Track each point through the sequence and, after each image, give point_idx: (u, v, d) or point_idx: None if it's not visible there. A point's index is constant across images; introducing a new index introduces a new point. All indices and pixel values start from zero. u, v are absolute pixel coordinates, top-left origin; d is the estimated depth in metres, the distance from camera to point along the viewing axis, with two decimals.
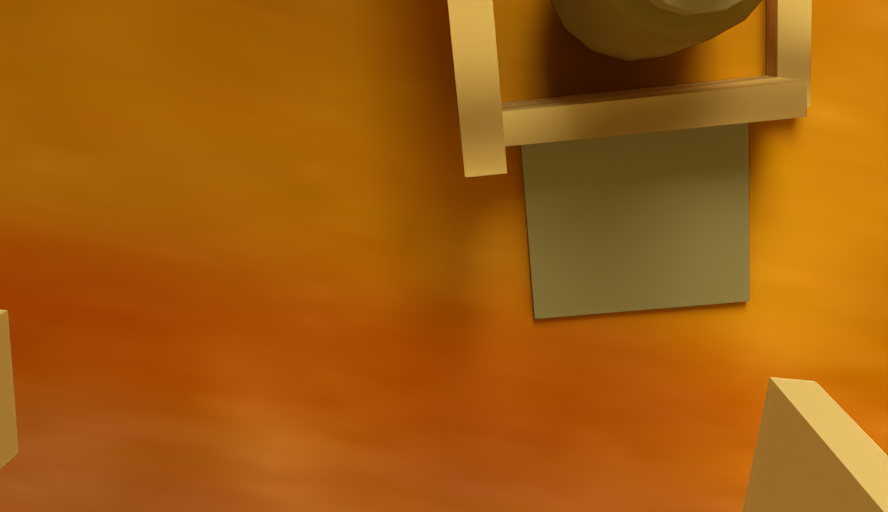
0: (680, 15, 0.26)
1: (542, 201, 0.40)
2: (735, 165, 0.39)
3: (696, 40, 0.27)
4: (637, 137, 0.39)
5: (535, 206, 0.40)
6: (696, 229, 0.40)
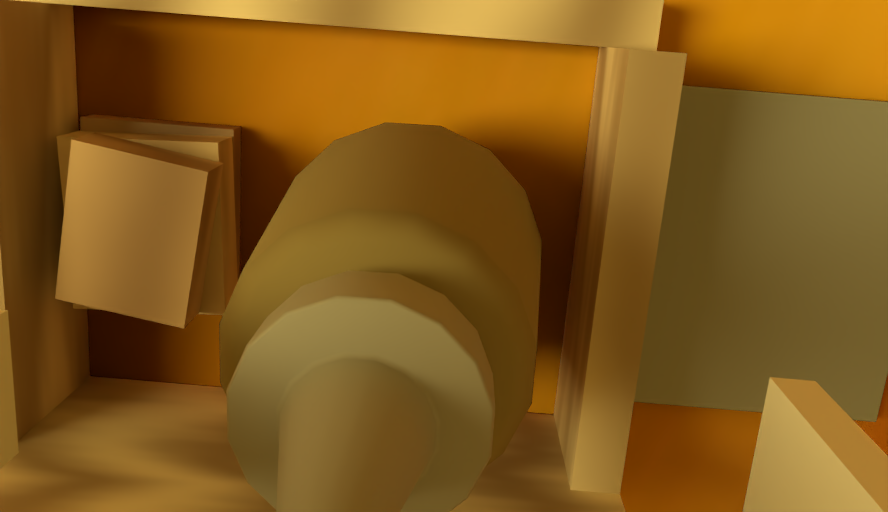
0: None
1: (703, 385, 0.28)
2: (724, 110, 0.25)
3: (533, 364, 0.16)
4: None
5: (708, 395, 0.28)
6: (808, 177, 0.26)
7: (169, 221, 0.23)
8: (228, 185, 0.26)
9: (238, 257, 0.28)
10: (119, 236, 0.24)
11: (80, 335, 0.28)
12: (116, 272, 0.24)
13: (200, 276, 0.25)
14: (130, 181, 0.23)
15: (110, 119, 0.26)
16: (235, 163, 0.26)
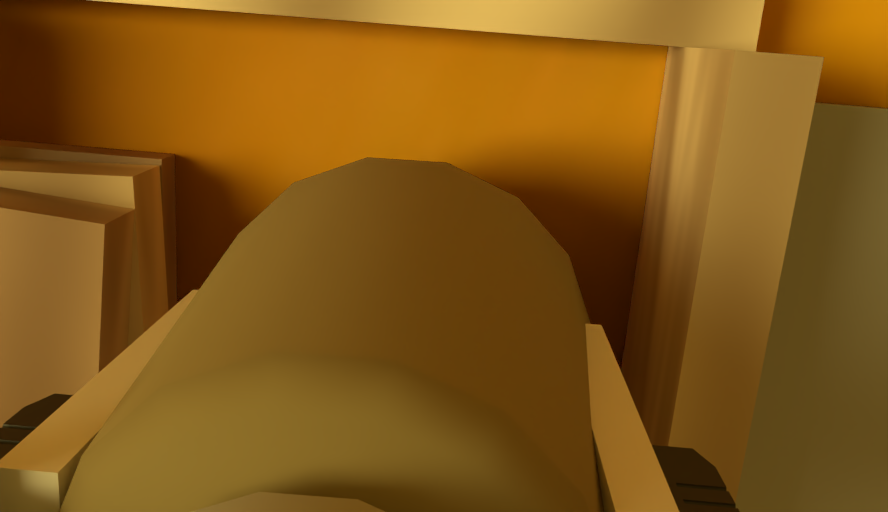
0: None
1: (800, 502, 0.21)
2: (844, 134, 0.18)
3: None
4: None
5: None
6: None
7: (58, 297, 0.17)
8: (152, 233, 0.19)
9: None
10: None
11: None
12: None
13: None
14: None
15: None
16: (166, 204, 0.19)
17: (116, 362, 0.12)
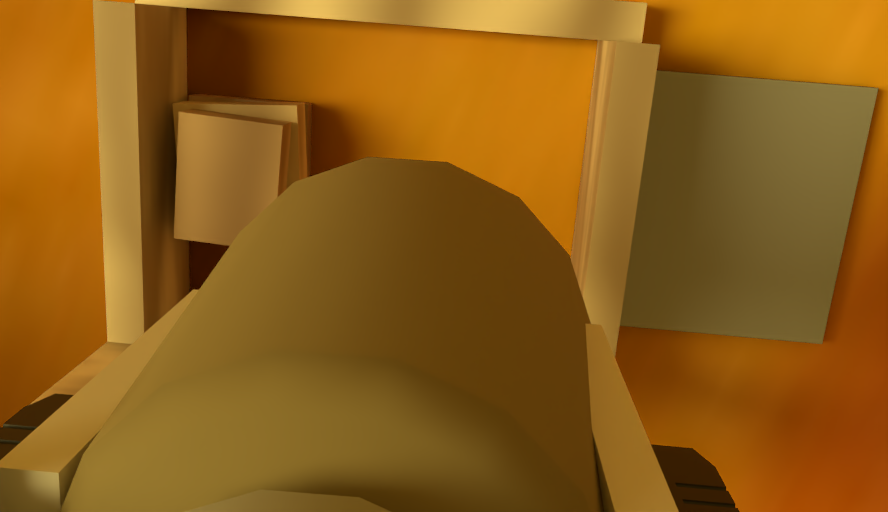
0: None
1: (681, 313, 0.35)
2: (697, 90, 0.32)
3: None
4: None
5: (686, 321, 0.35)
6: (764, 144, 0.33)
7: (256, 167, 0.31)
8: (302, 140, 0.33)
9: None
10: (219, 183, 0.31)
11: (184, 269, 0.35)
12: (219, 212, 0.31)
13: None
14: (224, 139, 0.30)
15: (212, 97, 0.33)
16: (308, 131, 0.34)
17: (116, 362, 0.12)
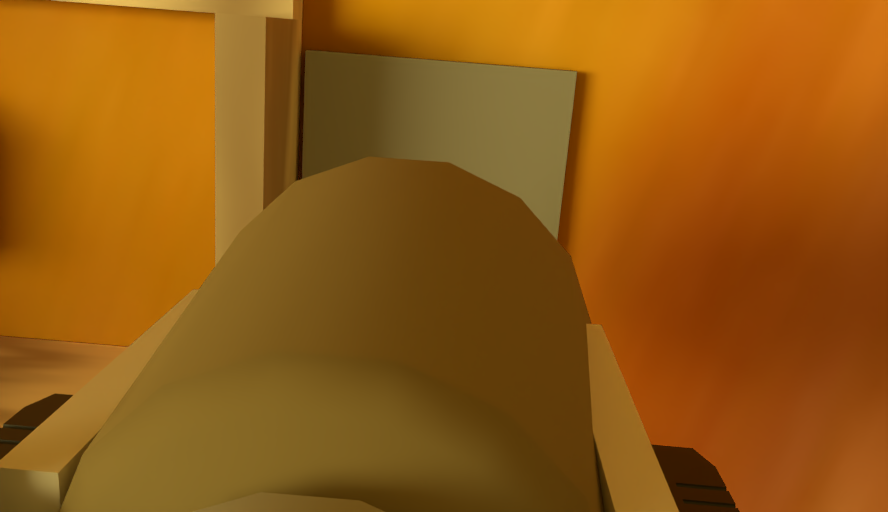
0: None
1: None
2: (373, 74, 0.28)
3: None
4: None
5: None
6: (455, 136, 0.28)
7: None
8: None
9: None
10: None
11: None
12: None
13: None
14: None
15: None
16: None
17: (116, 362, 0.12)
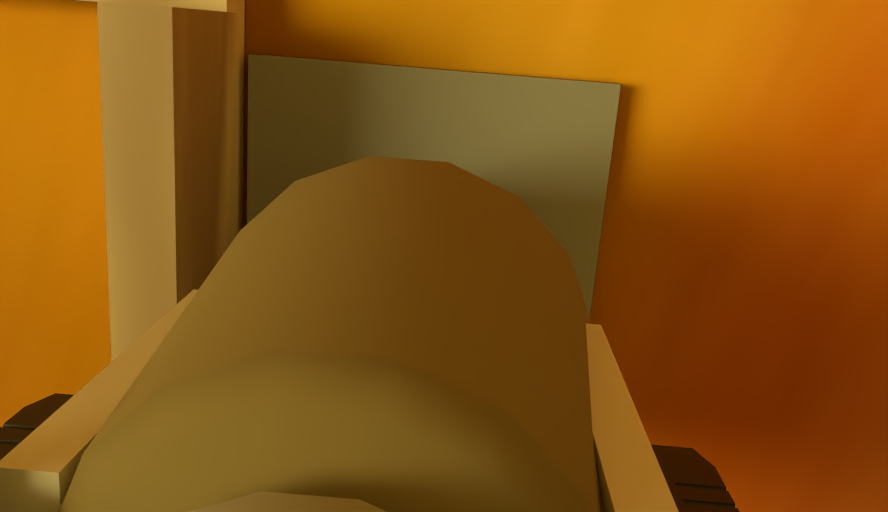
0: None
1: None
2: (340, 87, 0.20)
3: None
4: None
5: None
6: None
7: None
8: None
9: None
10: None
11: None
12: None
13: None
14: None
15: None
16: None
17: (117, 362, 0.12)
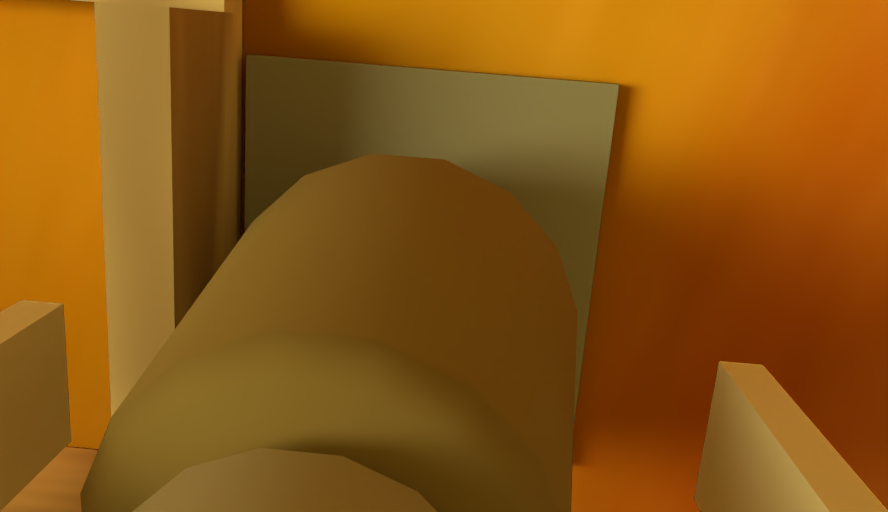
0: None
1: None
2: (338, 88, 0.20)
3: None
4: None
5: None
6: None
7: None
8: None
9: None
10: None
11: None
12: None
13: None
14: None
15: None
16: None
17: None
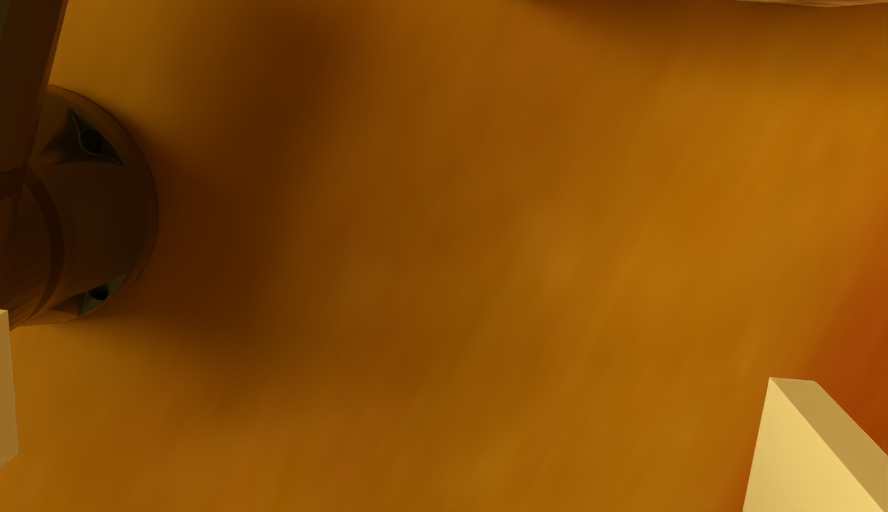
0: None
1: None
2: None
3: None
4: None
5: None
6: None
7: None
8: None
9: None
10: None
11: None
12: None
13: None
14: None
15: None
16: None
17: None
